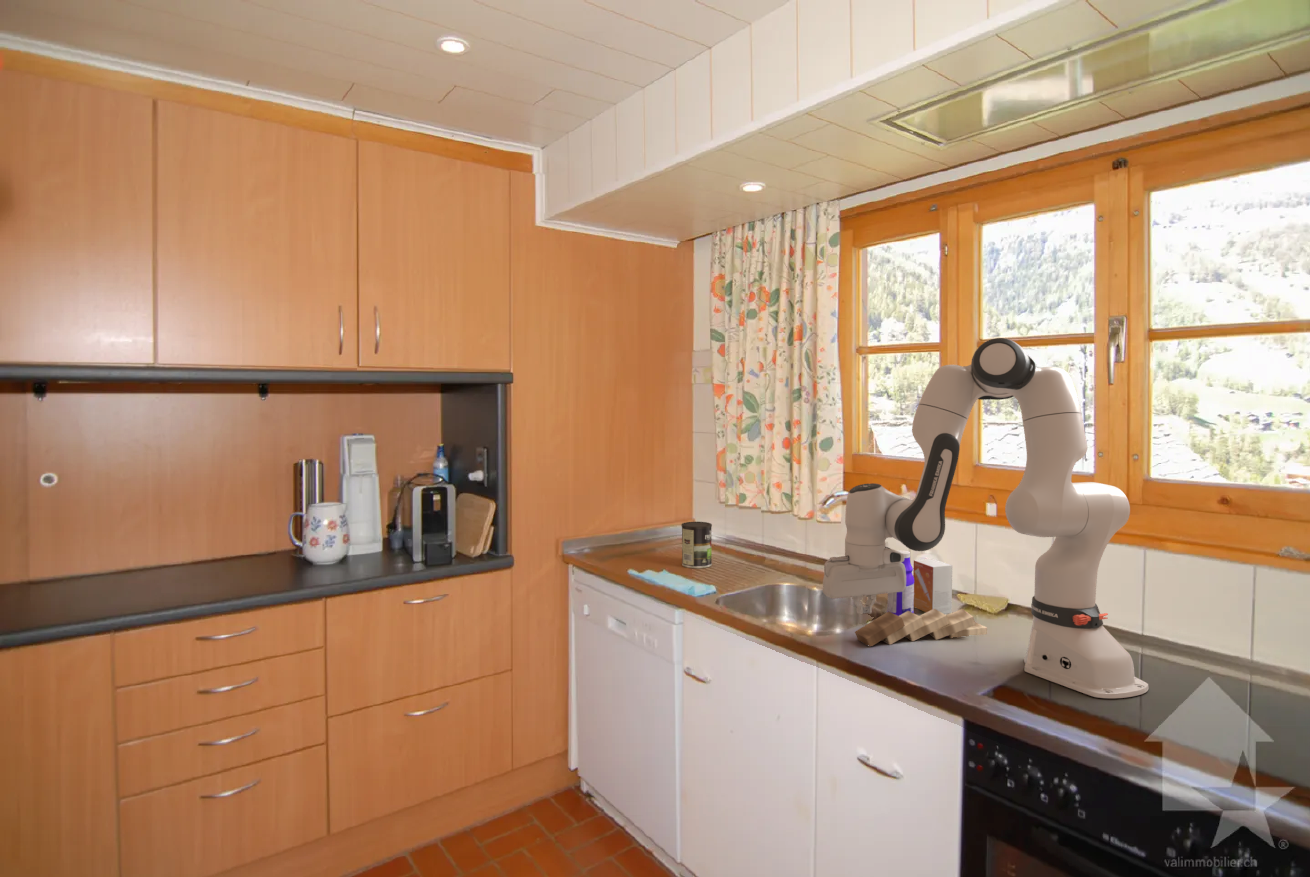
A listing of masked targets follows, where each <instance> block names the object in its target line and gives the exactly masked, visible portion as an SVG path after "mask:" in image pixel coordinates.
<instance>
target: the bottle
mask: <svg viewBox="0 0 1310 877" xmlns="http://www.w3.org/2000/svg"><path fill="white" fill-rule="evenodd" d="M895 550H896V551H899V552H901V553H903V554H904V561H903V562H901V563H903V564H904V566H905V569H906V587H905V589H904V590H903V591H902V592H895V593H887V608H886V613H887V612H888V611H889V612H891V613H893V614H895V615H897V616H900V615H901V614H903V613H905V612H907V611H910V612H912V613H914V614H915V612H914V608H915V607H914V577H913V566H912V563H911V552H910V551H909V550H904V549H903V550H901V549H895Z"/></svg>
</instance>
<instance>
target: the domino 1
mask: <svg viewBox="0 0 1310 877" xmlns="http://www.w3.org/2000/svg"><path fill="white" fill-rule="evenodd" d="M904 626H905V625H904V622H903V620H902V618H901V617H899V616H897V615H895V614H893V613H891V612H889V611H888V612H887V611H886V612H885V613H883V614H882V615H880V616H878V617H877V618H875V619H874V620H872V621H870V622H869V623H867V624H865V625H863V626H862V627H860V628H859V629H857V630H856V631H854V633H855V637H856V638H857V640H858V641H859V642H861V643H862V642H863V643H862V644H864V645H866V646H867V645H869V646H872V647H873V646H875V645H876V644H878V643H879V642H882V640H883V639H884V638H886V637H888V636H889V635H891V634H892V633H894V632H896V631H897V630H899V629H901V628H902V627H904ZM869 646H868V647H869Z"/></svg>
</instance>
